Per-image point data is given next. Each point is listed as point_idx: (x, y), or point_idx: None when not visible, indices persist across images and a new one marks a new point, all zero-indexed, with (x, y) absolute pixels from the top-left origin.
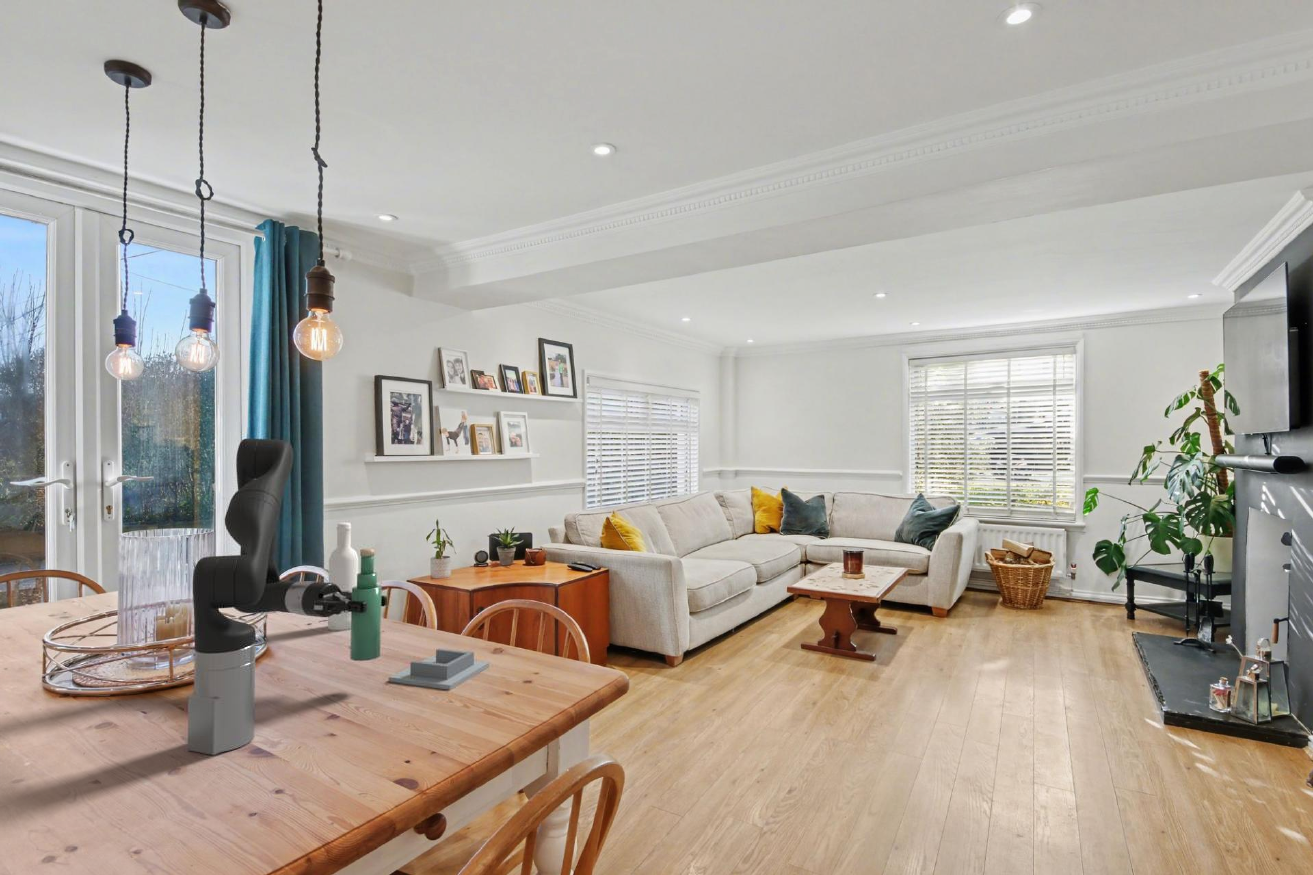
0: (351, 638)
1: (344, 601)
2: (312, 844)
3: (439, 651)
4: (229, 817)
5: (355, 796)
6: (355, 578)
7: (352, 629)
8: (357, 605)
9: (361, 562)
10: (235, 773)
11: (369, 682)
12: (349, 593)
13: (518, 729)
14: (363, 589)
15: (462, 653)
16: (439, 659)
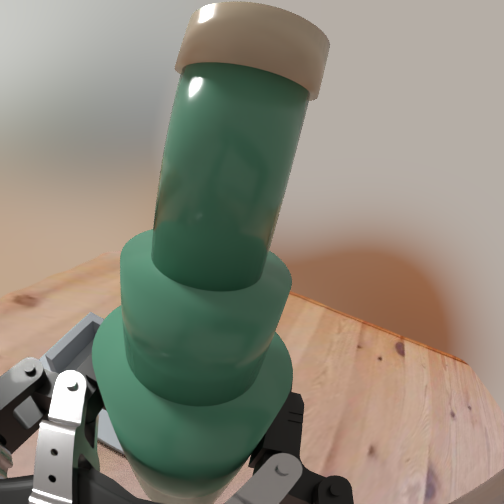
0: (217, 496)
1: (300, 473)
2: (458, 363)
3: (56, 357)
4: (477, 416)
5: (427, 368)
6: None
7: (227, 485)
8: (302, 406)
9: (287, 160)
10: (459, 466)
11: (134, 493)
12: (72, 501)
13: (294, 301)
14: (267, 351)
15: (87, 326)
16: (61, 367)
